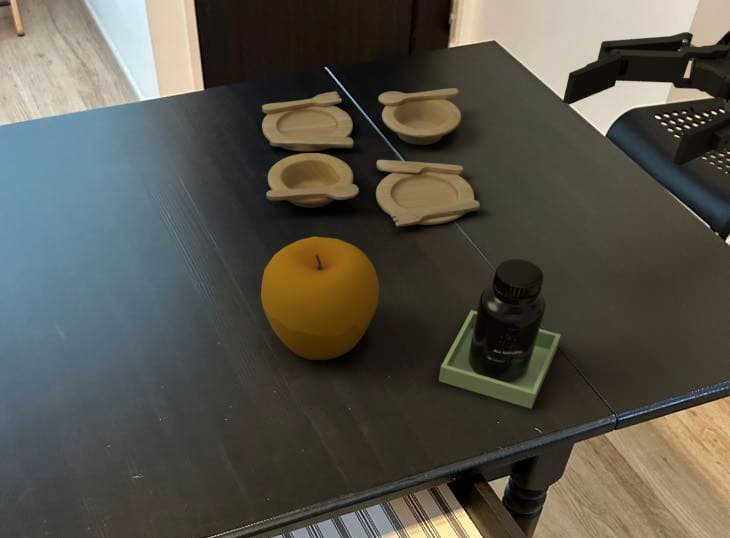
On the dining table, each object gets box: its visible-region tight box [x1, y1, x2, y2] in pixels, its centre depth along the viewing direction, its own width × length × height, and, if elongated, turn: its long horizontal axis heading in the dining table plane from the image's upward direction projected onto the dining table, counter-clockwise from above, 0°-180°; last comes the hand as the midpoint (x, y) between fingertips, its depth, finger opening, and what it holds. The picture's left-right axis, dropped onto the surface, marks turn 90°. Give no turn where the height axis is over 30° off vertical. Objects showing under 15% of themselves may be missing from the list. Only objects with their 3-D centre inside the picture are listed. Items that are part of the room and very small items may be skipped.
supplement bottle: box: [468, 258, 546, 382], centre depth 87 cm, size 7×7×12 cm
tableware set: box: [261, 87, 481, 228], centre depth 116 cm, size 35×29×4 cm
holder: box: [438, 309, 562, 410], centre depth 91 cm, size 10×10×2 cm
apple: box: [260, 236, 381, 361], centre depth 90 cm, size 13×13×11 cm
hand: (622, 118), depth 76 cm, fingers open, 13 cm apart
